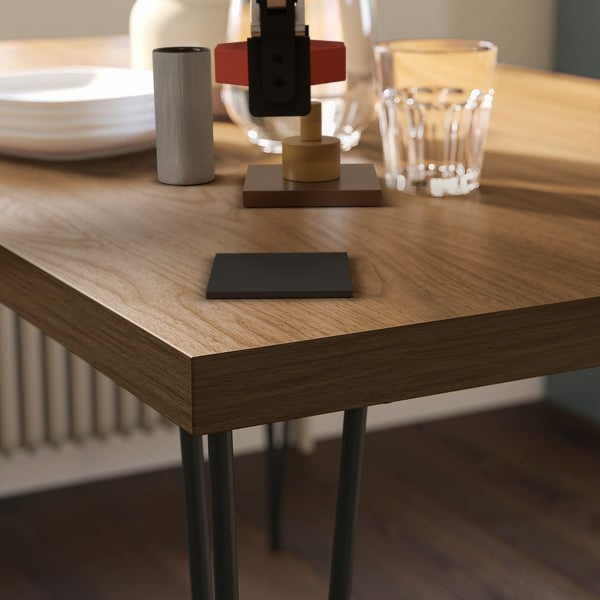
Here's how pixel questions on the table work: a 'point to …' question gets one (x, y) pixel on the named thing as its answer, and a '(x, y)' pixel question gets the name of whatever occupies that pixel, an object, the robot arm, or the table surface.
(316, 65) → the ring
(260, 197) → the ring holder
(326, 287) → the mat
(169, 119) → the planter
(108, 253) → the table surface
